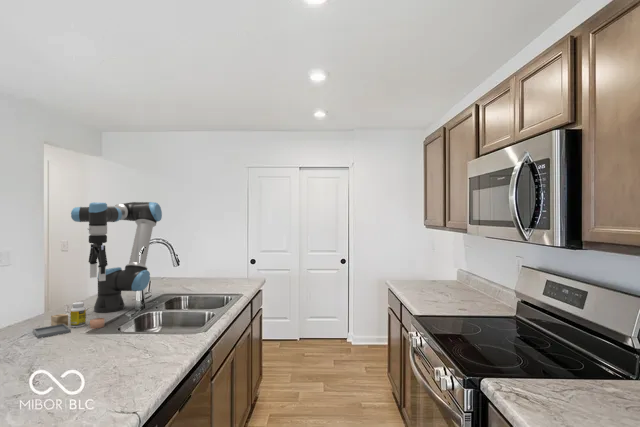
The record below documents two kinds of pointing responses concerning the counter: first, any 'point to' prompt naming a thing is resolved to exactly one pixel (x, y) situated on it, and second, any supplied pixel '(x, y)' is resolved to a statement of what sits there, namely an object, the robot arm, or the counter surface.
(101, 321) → the brown egg
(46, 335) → the slate tray
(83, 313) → the pill bottle
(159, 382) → the counter surface
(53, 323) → the cork block
